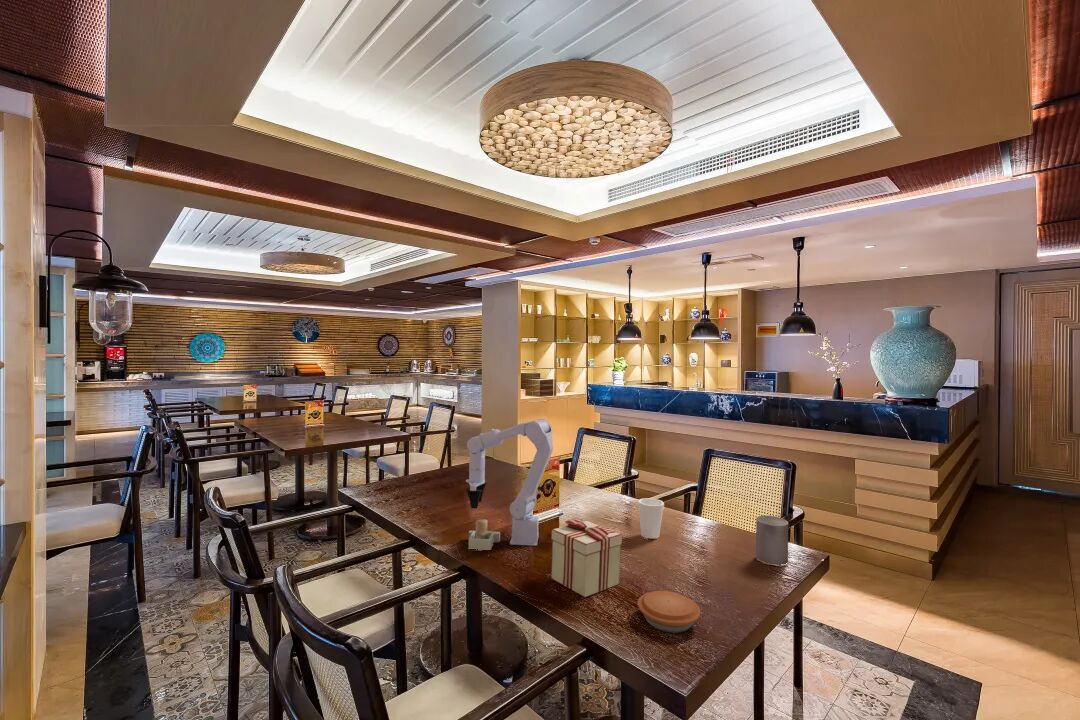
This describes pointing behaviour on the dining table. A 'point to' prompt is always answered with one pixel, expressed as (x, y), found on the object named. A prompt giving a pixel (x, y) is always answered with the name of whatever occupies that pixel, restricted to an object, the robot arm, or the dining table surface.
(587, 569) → the gift box
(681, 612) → the pie
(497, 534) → the rail
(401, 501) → the dining table surface
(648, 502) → the foam cup
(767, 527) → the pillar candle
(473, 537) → the socket block
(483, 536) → the dowel
